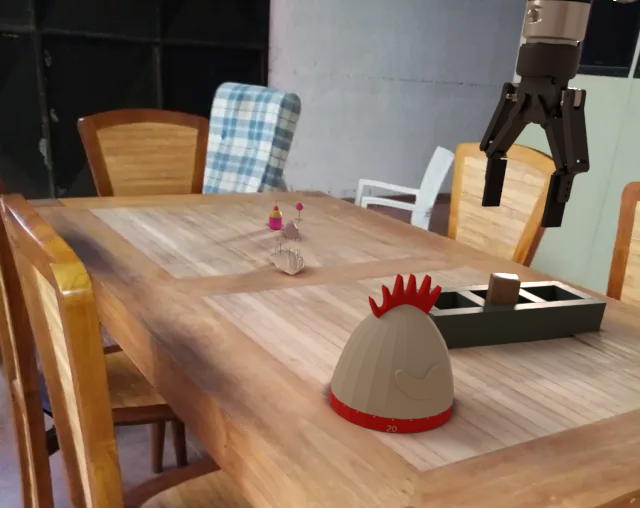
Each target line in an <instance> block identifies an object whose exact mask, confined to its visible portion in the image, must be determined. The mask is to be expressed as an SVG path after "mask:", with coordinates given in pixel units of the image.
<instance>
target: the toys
mask: <svg viewBox="0 0 640 508" xmlns="http://www.w3.org/2000/svg"><path fill="white" fill-rule="evenodd" d="M279 209H280V208H279V206H278V205H277V199H275V205H274V206H273V209H272V210H271V211H270V212H269V215H268V227H269V229H271V230H281V229H282V228H283V233H284V235H285V238H286V237H287V238H286V239H288V240H296V239H295V237H296V238H297V237H298V235H299V229H298V227H297V224H296V222H295V221H293V220H291V219H288V220H286V221H284V223H283V214H282V212H281V210H279ZM295 209H296V210H297V211H298V216H297V217H298V218H297V223H298V224H299V223H300V219H301V218H300V217H301V211H302V210H303V209H304V204H303V203H302V202H297V203H296V205H295Z"/></svg>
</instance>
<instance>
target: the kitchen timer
mask: <svg viewBox="0 0 640 508" xmlns="http://www.w3.org/2000/svg"><path fill="white" fill-rule="evenodd" d="M420 284H421V285H420V287H419V288H418V287H417V277H416V275H415V274H413V273H410V274H409V276H408V280H407V284H406V287H405V281H404V276H403V275H401V274H400V273H397V274H396V277H395V282H394V284H393V289H392V293H391V291H390V289H389V288H388V286H386V285H385V284H382V285H381V293H382V304H381V305H380V306H378V304H377V302H376V301H375V299H374V298H373V297H372V296H370V295H369V296H368V303H369V307H370V310H371V313H369V314H367V316H366V317H365V318H363V319H362V321H360V323H359V324H358V325H357V326H356V327H355V328H354V329H353V331H352V333H351V334H350V336H349V338H348V339H347V341H346V343H345V344H344V347H343V349H342V351H341V354H340V355H339V358H338V360H337V363H336V365H335V368H334V370H333V372H332V377H331V381H330V386H329V396H328V397H329V403H330V407H331V408H332V409H333V410H334V412H335V413H336V415H338V416H340V417H341V418H343V419H345V420H346V421H348V422H350V423H352V424H354V425H357V426H360V427H362V428H366V429H370V430H374V431H379V432H383V433H395V434H412V433H415V434H416V433H422V432H427V431H430V430H431V431H432V430H435V429H437V428H439V427H441V426H444V425H445V424H446V423H447V422H448V420H450V418H451V416H452V412H453V411H452V409H453V404H454V395H455V383H454V375H453V369H452V368H453V367H452V362H451V357H450V352H449V349H447V346H446V343H445V340H444V339H443V337H442V335H441V331H439V330H438V328H437V326H436V325H435V323H434V322H433V321H432V319H431V318H430V317H429V316H428V314H429V312H430V310H431V309H432V307H433V305H434V304H435V302H436V300H437V298H438V297H439V295H440V292H441V290H442V288H443V287H442V286H440V285H438V284H437V285H436V286H434V287H433V288H434V289H433V291H432V292H431V293H430V289H431V288H432V276H430V275H428V274H425V275H424V278H423V279H422V282H421V283H420ZM417 289H419V291H418V292H417ZM404 290H406V291H405V293H404Z"/></svg>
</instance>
